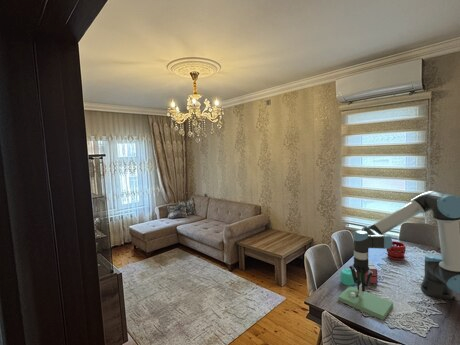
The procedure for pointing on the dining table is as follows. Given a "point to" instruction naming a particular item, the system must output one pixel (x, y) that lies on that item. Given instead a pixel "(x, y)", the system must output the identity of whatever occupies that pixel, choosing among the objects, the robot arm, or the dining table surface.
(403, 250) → the plant pot
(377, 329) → the dining table surface
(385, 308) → the green
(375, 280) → the puzzle cube
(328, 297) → the dining table surface
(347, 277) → the decorative dice
